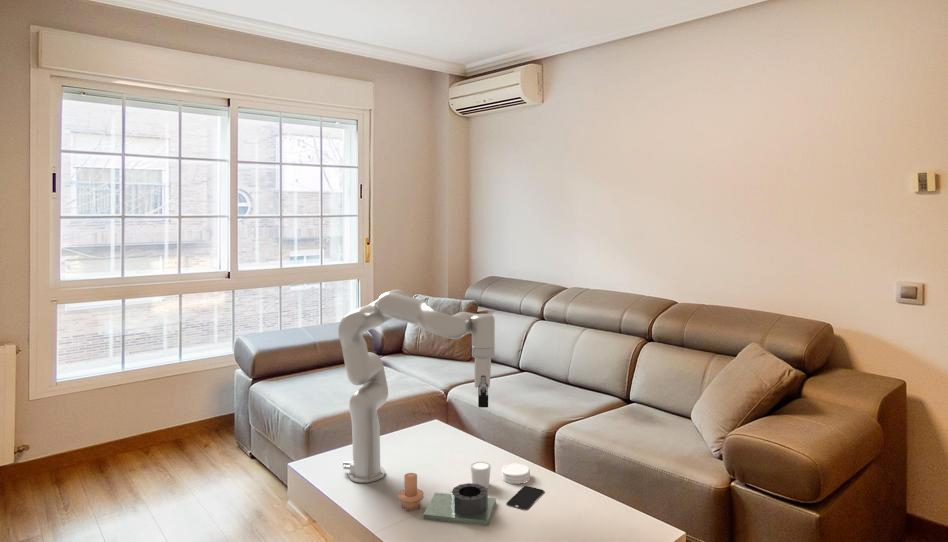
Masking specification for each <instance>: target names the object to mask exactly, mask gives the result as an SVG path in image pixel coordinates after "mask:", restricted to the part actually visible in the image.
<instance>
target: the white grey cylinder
mask: <svg viewBox="0 0 948 542" xmlns="http://www.w3.org/2000/svg"><path fill="white" fill-rule="evenodd" d="M491 468H492V467H491V464H490V463H488V462H485V461H475V462H472V463H471V464H470V474H471V483H472V484H479V485H481V486H484V487H485V488H486V489H487V488H489V486H490V476H491Z"/></svg>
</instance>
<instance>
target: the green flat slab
mask: <svg viewBox="0 0 948 542" xmlns="http://www.w3.org/2000/svg"><path fill="white" fill-rule="evenodd" d="M496 501H497V499H496V498H495V497H489V491H488V490H487V488H485V487H484V486H481V485H479V484H472V482H468V483H462V484H458V485H457V486H455V487H453V489H452V491H451V493H443V492H442V493H440V492H435V493H434V494H433V496H432V498H431V499H430V501H429V502H428V505H427V507H426V508H425V510H424V512H423V514H422V519H423V520H431V521H437V522H438V521H440V522H441V521H442V522H449V523H450V522H451V523H461V524H470V525H477V526H478V525H479V526H486V527H487V526H489V524H490V521H491V520H492V515H493V512H494V509H495V506H496Z"/></svg>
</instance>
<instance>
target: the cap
mask: <svg viewBox="0 0 948 542" xmlns="http://www.w3.org/2000/svg"><path fill="white" fill-rule="evenodd" d="M403 479H404V484H403V485H404V489H402V490H400V491H399V492H398V494H397V498H398V501H400V502H401V504H402V505H401V508H402V507H403V508H404V509H403V508H402V509H403V510H405V509H406V510H405V511H416V510H418V509H419V508H420V507H421V501H423V499H424V495H425V492H424V491H423V490H422V489H421V488H418V474H417V473H415V472H408V473H405V474H404V475H403ZM415 509H416V510H415Z"/></svg>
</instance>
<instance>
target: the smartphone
mask: <svg viewBox="0 0 948 542" xmlns="http://www.w3.org/2000/svg"><path fill="white" fill-rule="evenodd" d="M542 494H543V495H544V494H545V490H544V489H541V488H537V487H533V486H528V485H524V486H522V487H521V488H520V489H519V490H518V491H517V493H515V494H514V495H513V496H512V497H511V498H510V499H509V500H508V501H507V502H506V503H505V505H506V506H507V507H510V508H514V509H518V510H521V511H529V509H530V508H531V507H532V506H533V505H534V504H535V503H536V502H537V501H538V500H539V499H540V498H541V497H542V496H543V495H542ZM541 495H542V496H541ZM540 496H541V497H540ZM539 497H540V498H539ZM538 498H539V499H538ZM537 499H538V500H537ZM536 500H537V501H536ZM535 501H536V502H535Z"/></svg>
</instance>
